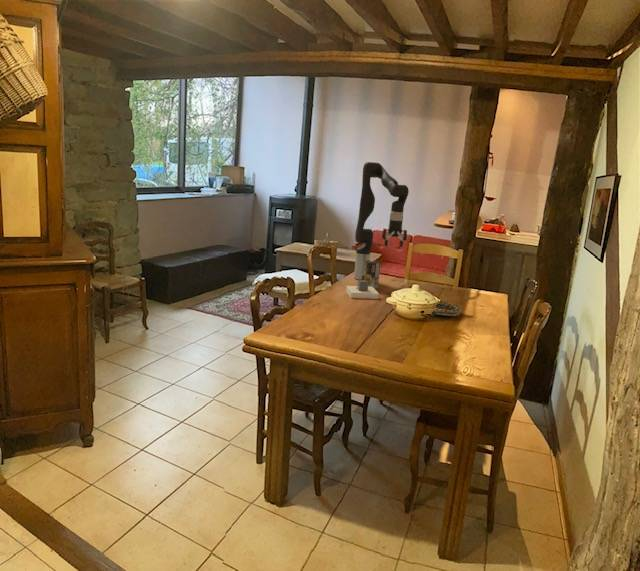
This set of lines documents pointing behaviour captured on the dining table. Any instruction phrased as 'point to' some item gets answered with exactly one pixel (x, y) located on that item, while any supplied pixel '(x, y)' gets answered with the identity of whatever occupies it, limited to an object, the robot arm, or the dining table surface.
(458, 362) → the dining table surface
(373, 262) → the coffee box
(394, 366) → the dining table surface
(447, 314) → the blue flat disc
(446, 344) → the dining table surface
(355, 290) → the socket board
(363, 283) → the plug
